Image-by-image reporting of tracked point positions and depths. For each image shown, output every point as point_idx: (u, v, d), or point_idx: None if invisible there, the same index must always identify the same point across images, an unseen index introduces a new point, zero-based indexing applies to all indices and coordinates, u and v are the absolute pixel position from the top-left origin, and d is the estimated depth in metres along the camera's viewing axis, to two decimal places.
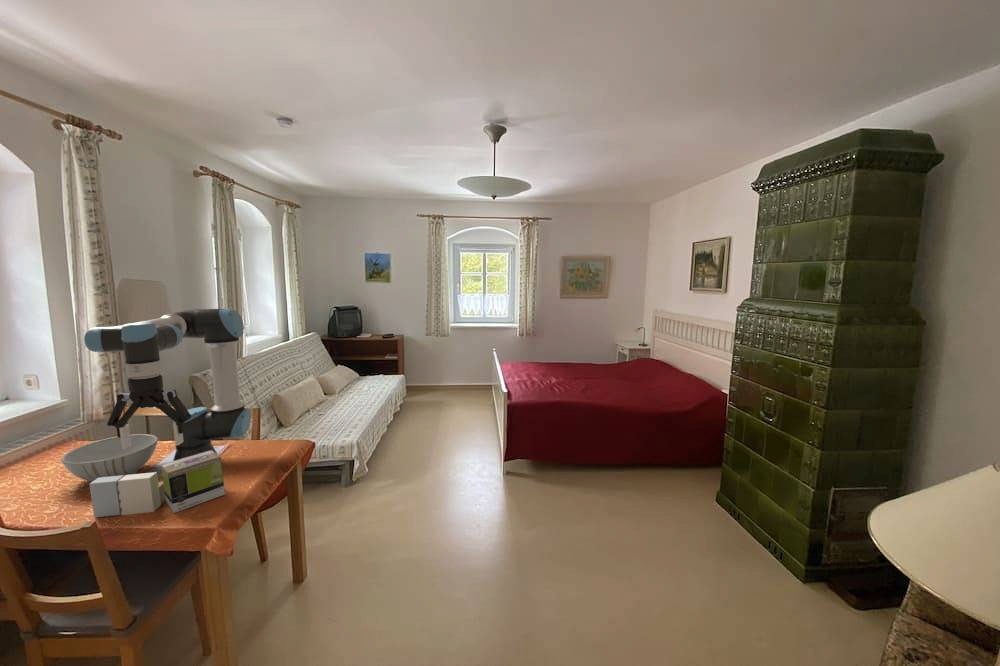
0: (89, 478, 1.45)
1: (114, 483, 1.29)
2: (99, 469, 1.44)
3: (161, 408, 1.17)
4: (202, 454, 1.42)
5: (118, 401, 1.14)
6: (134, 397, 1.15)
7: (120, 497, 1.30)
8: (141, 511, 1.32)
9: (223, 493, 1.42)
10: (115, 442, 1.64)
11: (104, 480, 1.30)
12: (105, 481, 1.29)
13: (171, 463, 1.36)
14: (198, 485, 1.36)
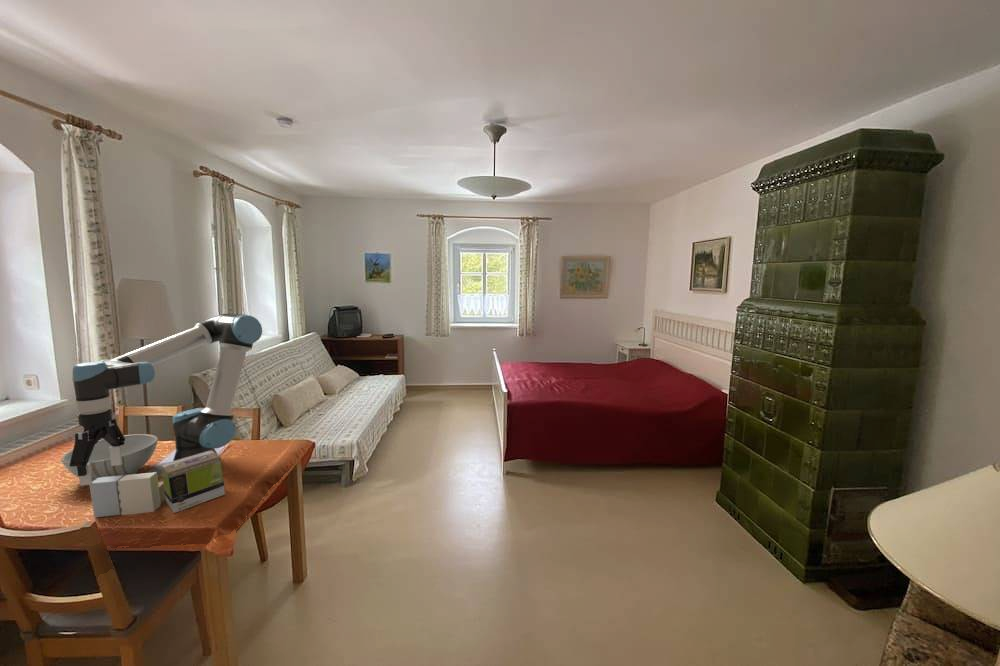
0: None
1: (114, 483, 1.29)
2: (99, 469, 1.44)
3: None
4: (202, 454, 1.42)
5: None
6: None
7: (120, 497, 1.30)
8: (141, 511, 1.32)
9: (223, 493, 1.42)
10: None
11: (104, 480, 1.30)
12: (105, 481, 1.29)
13: (171, 463, 1.36)
14: (198, 485, 1.36)
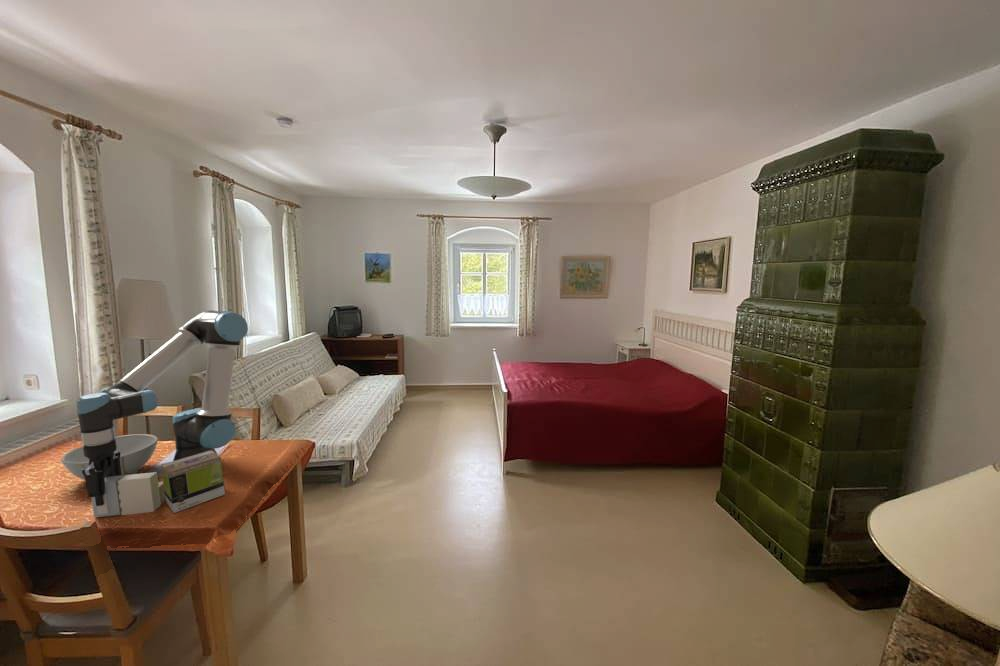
0: None
1: (114, 483, 1.29)
2: None
3: None
4: (202, 454, 1.42)
5: None
6: None
7: (120, 497, 1.30)
8: (141, 511, 1.32)
9: (223, 493, 1.42)
10: None
11: None
12: (105, 481, 1.29)
13: (171, 463, 1.36)
14: (198, 485, 1.36)
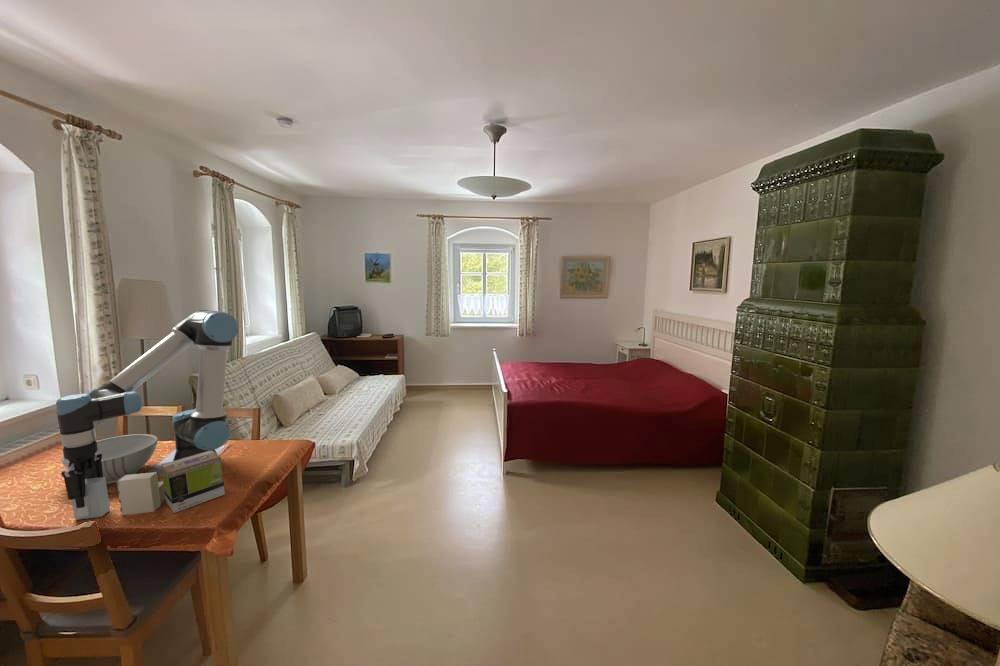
0: None
1: (95, 485, 1.28)
2: None
3: None
4: (202, 454, 1.42)
5: None
6: None
7: (120, 497, 1.30)
8: (141, 511, 1.32)
9: (223, 493, 1.42)
10: (115, 442, 1.64)
11: (85, 481, 1.28)
12: (86, 483, 1.28)
13: (171, 463, 1.36)
14: (198, 485, 1.36)
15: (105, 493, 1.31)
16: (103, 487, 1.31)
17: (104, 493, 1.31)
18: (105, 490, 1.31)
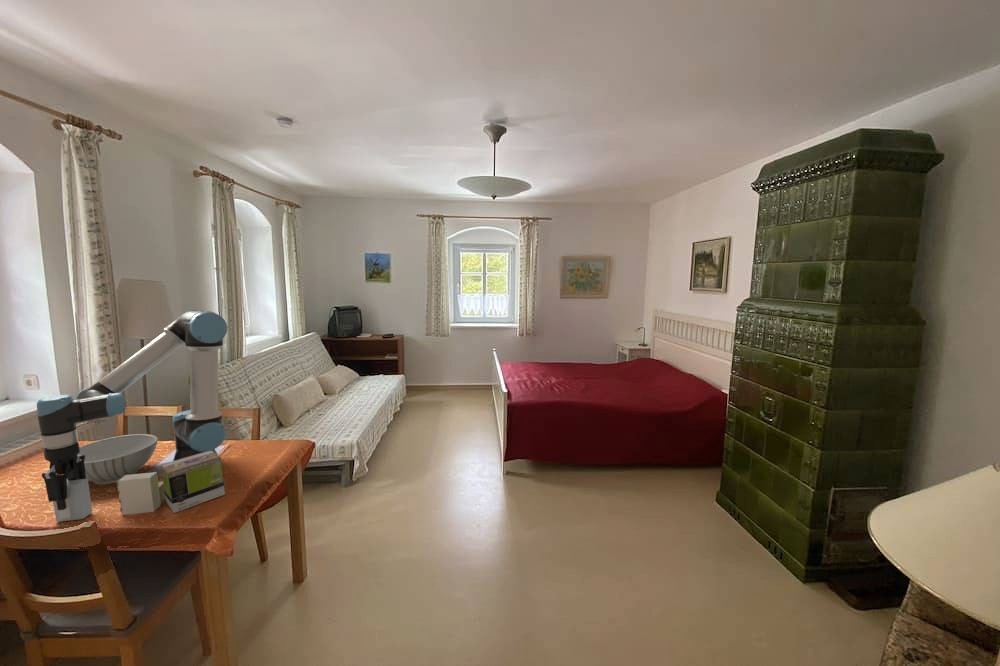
0: (89, 478, 1.45)
1: (77, 487, 1.27)
2: (99, 469, 1.44)
3: None
4: (202, 454, 1.42)
5: None
6: None
7: (120, 497, 1.30)
8: (141, 511, 1.32)
9: (223, 493, 1.42)
10: (115, 442, 1.64)
11: None
12: (67, 485, 1.26)
13: (171, 463, 1.36)
14: (198, 485, 1.36)
15: (87, 495, 1.30)
16: (85, 489, 1.29)
17: (86, 495, 1.30)
18: (87, 492, 1.30)
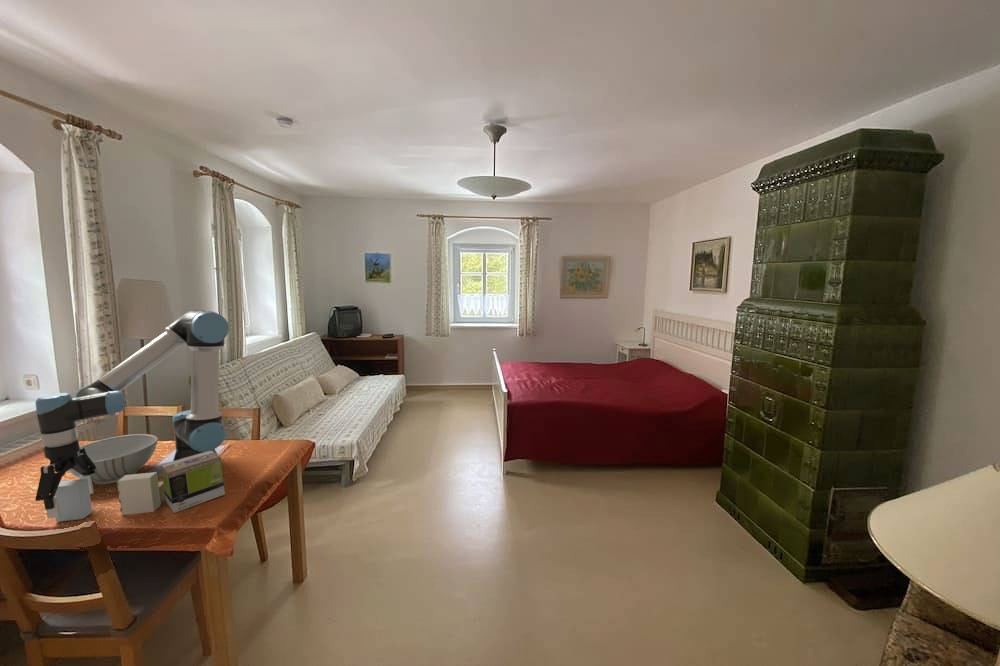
0: None
1: (76, 487, 1.27)
2: (99, 469, 1.44)
3: None
4: (202, 454, 1.42)
5: None
6: None
7: (120, 497, 1.30)
8: (141, 511, 1.32)
9: (223, 493, 1.42)
10: (115, 442, 1.64)
11: (66, 483, 1.27)
12: (67, 485, 1.26)
13: (171, 463, 1.36)
14: (198, 485, 1.36)
15: (87, 495, 1.30)
16: (85, 489, 1.29)
17: (86, 495, 1.30)
18: (87, 492, 1.30)
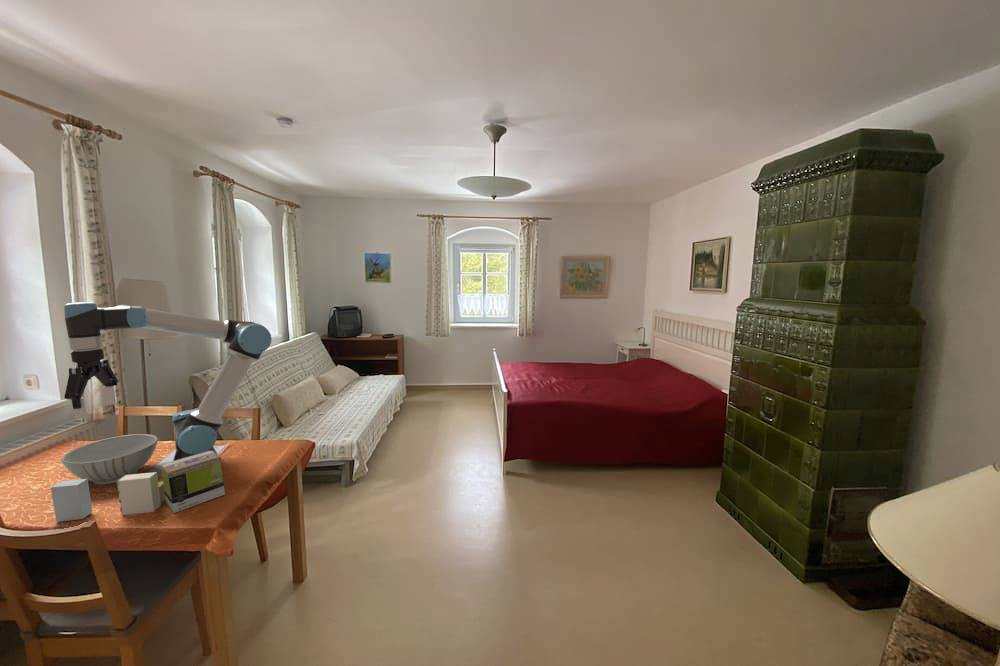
0: (89, 478, 1.45)
1: (76, 487, 1.27)
2: (99, 469, 1.44)
3: None
4: (202, 454, 1.42)
5: None
6: None
7: (120, 497, 1.30)
8: (141, 511, 1.32)
9: (223, 493, 1.42)
10: (115, 442, 1.64)
11: (66, 483, 1.27)
12: (67, 485, 1.26)
13: (171, 463, 1.36)
14: (198, 485, 1.36)
15: (87, 495, 1.30)
16: (85, 489, 1.29)
17: (86, 495, 1.30)
18: (87, 492, 1.30)
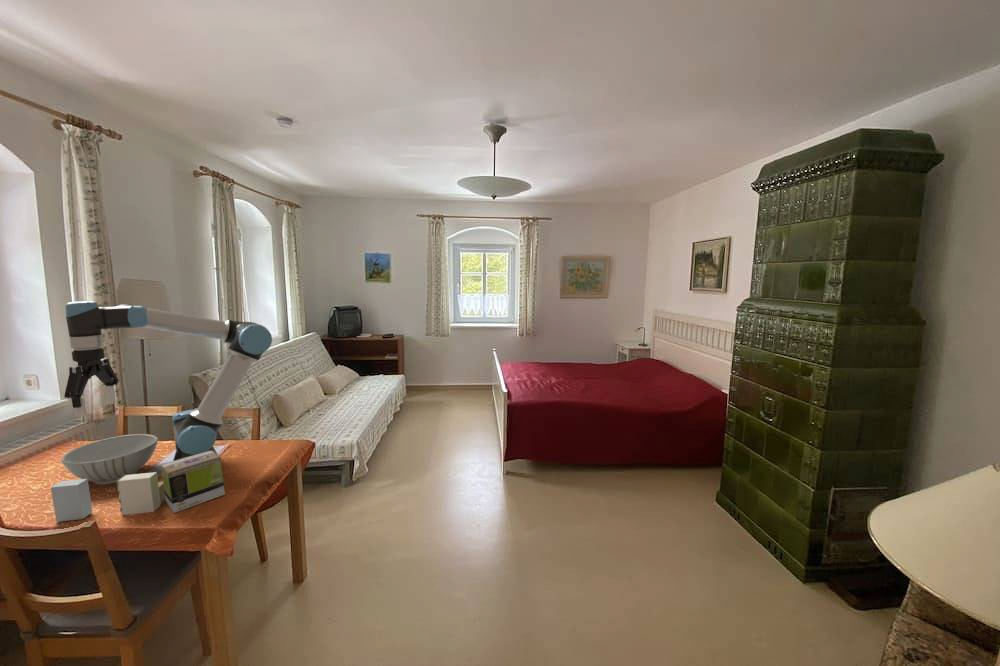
0: (89, 478, 1.45)
1: (76, 487, 1.27)
2: (99, 469, 1.44)
3: None
4: (202, 454, 1.42)
5: None
6: None
7: (120, 497, 1.30)
8: (141, 511, 1.32)
9: (223, 493, 1.42)
10: (115, 442, 1.64)
11: (66, 483, 1.27)
12: (67, 485, 1.26)
13: (171, 463, 1.36)
14: (198, 485, 1.36)
15: (87, 495, 1.30)
16: (85, 489, 1.29)
17: (86, 495, 1.30)
18: (87, 492, 1.30)
